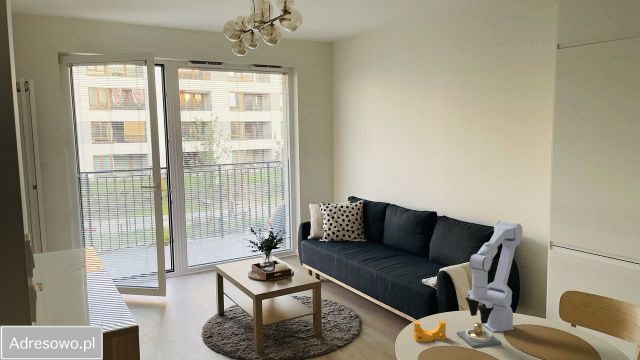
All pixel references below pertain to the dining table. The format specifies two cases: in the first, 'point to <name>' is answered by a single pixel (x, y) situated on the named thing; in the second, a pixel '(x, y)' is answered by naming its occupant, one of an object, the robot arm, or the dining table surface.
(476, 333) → the brass cabinet knob
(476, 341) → the carrier plate
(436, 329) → the pipe clamp
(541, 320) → the dining table surface
